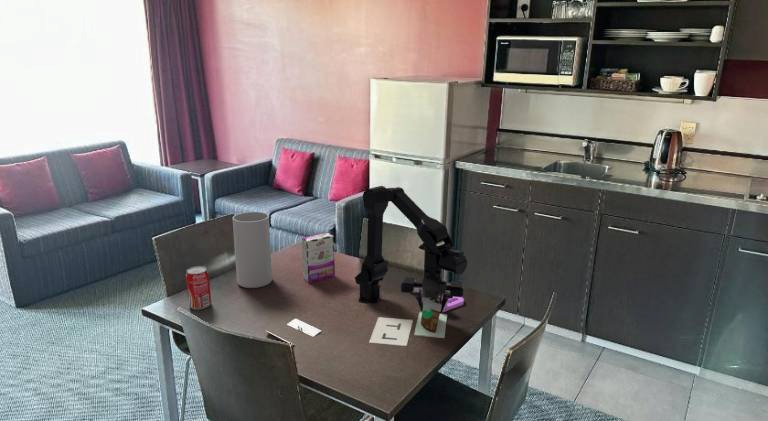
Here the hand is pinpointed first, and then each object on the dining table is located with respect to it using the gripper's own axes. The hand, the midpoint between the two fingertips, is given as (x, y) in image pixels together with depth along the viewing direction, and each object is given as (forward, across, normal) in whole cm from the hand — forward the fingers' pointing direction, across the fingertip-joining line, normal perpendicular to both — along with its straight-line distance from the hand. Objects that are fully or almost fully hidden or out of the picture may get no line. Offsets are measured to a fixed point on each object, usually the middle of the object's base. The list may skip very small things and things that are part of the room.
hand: (431, 312), depth 168 cm
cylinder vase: (+5, -66, +21) cm, 70 cm away
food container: (+4, -1, -1) cm, 4 cm away
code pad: (+4, -11, -6) cm, 14 cm away
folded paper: (+5, -40, -13) cm, 43 cm away
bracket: (+5, +4, +15) cm, 16 cm away
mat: (+4, 0, 0) cm, 4 cm away
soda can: (+5, -76, -1) cm, 77 cm away
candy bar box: (+5, -44, +29) cm, 53 cm away
